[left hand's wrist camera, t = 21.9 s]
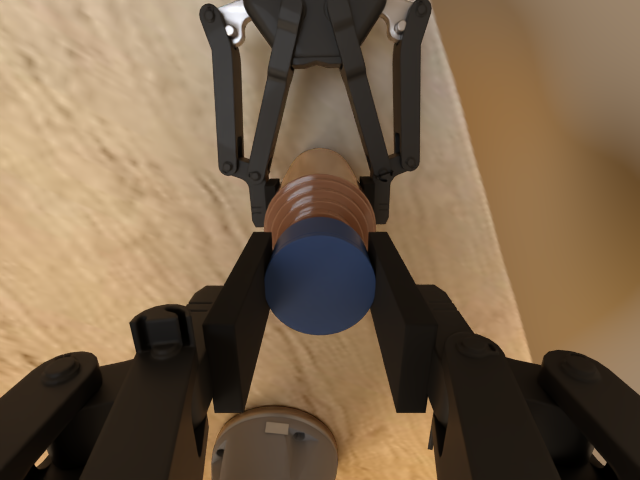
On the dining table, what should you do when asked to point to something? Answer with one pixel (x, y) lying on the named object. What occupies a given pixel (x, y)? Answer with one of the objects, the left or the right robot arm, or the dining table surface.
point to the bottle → (320, 195)
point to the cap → (320, 277)
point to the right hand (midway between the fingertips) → (321, 263)
